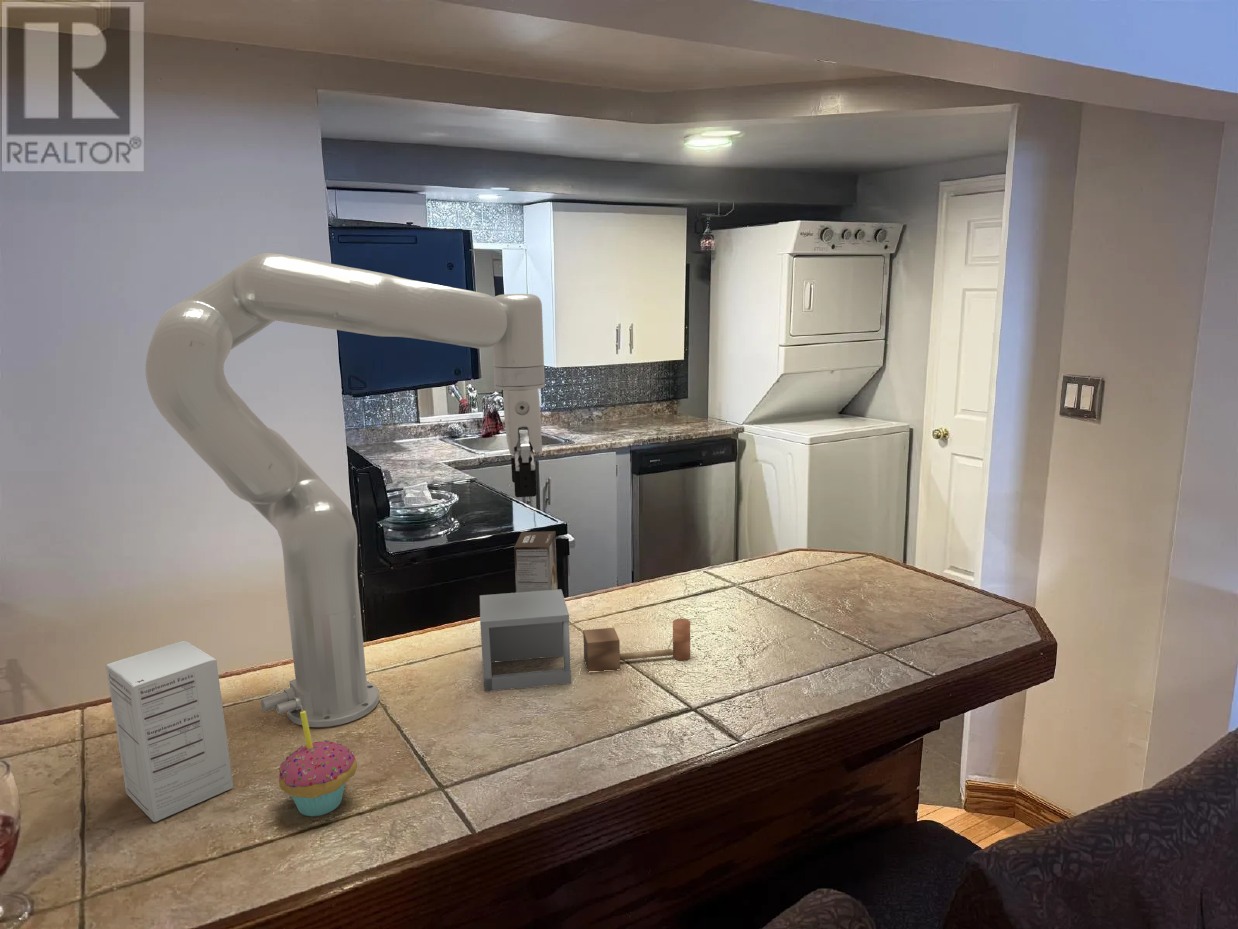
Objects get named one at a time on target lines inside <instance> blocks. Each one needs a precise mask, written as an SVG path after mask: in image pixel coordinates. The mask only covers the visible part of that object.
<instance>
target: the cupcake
mask: <svg viewBox="0 0 1238 929" xmlns="http://www.w3.org/2000/svg"><path fill="white" fill-rule="evenodd" d="M300 707H301V712H300V716H301V721H302V725H301V726H302V730H303V731H302V732H303V735H304V740H305V744H304V745H301V746H300V747H297V748H296V749H295V750H294V751H292V753H291V752H290V753H289V754H288V756H286V757H285V758H284V759H283V761H282V763H281V764H279V766H280V767H279V774H278V775H279V776H278V784H279V785H278V786H279V788H280V790H281V791H282V792H284V793H286V794H288V795H289V796H290V797H291V798H292V800H293V802H294V804H295V805H296V807H297V810H298V812H299V813H300V814H302V815H303V816H305V817H306V816H307V817H320V816H323V815H327V814H329V813H330V812H333V811H335V809H337V808H338V807H339V806H340V804H341V803H342V799H343V794H344V790H345V787H346V784H347V782H348V781H349V780H350V779H351V778H352V777H354V776H355V774H356V771H357V766H358V761H357V758H356V756H355V752H354V751H352V750H350V748H349V746H344V745H343V744H342V743H339V742H337V741H330V740H324V741H319V740H318V741H314V742H313V741H312V735H311V730H310V727H309V725H308V720H307V715H306V711H303V708H302V705H300Z"/></svg>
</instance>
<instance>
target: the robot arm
mask: <svg viewBox="0 0 1238 929" xmlns="http://www.w3.org/2000/svg"><path fill="white" fill-rule="evenodd" d="M275 321H276V322H277V321H278V322H284V323H289V324H297V325H303V326H308V327H309V326H311V327H317V328H322V329H329V330H336V331H342V332H349V333H355V334H362V335H369V336H373V337H374V336H375V337H392V338H393V337H396V338H397V337H398V338H406V339H407V338H408V339H409V338H410V339H415V340H417V339H418V340H424V341H431V342H437V343H442V344H450V345H455V346H460V347H466V348H467V347H468V348H469V347H470V348H473V349H474V348H475V349H486V348H490V347H492V362H493V363H492V364H493V381H494V382H493V383H494V389H495V390H499V391H502V400H503V417H504V427H505V435H506V436H505V437H506V442H507V446H508V451H509V454H510V455H511V456H512V457H510V462H511V463H510V465H511V481H512V483H514V496H515V498H531V497H536V496H537V495H538V494H537V491H538V489H537V469H536V468H535V458H534V453H537V454H538V456H539V455H542V453H543V442H542V438H543V437H542V423H541V421H542V420H541V419H542V418H541V403H540V394H539V389H543V388H545V387H546V386H545V385H546V384H545V382H546V380H545V361H544V360H545V357H544V329H543V328H544V326H543V325H544V324H543V303H542V301H541V298H540V297H539V296H537V295H536V294H532V293H508V294H507V293H506V294H498V295H496V296H492V295H489V294H488V293H483V292H478V291H475V290H474V291H473V290H468V289H463V288H458V287H452V286H447V285H440V284H437V283H436V284H435V283H432V282H431V283H430V282H424V281H420V280H413V279H409V278H405V277H400V276H396V275H393V274H388V273H385V272H384V273H383V272H379V271H378V272H377V271H372V270H367V269H362V268H356V267H351V266H350V267H349V266H345V265H341V264H335V263H331V262H330V263H329V262H326V261H325V262H323V261H319V260H314V259H309V258H303V257H299V256H293V255H287V254H282V253H276V252H263V253H259V254H256V255H254V256H252V257H250V258H248V259H246V260H244V261H243V262H241V263H240V264H239V265H237V266H236V267H235V268H233V269H231V270H230V271H229V272H227V273H226V274H224V275H223V276H221V277H219V278H218V279H216V280H215V281H213V282H211V283H210V284H208V285H207V286H205V287H203V288H202V289H200V290H198V291H197V292H195V293H194V294H191V295H190V296H188V297H186V298H185V299H182V300H181V301H180V302H178V303H176V304H175V305H173V306H171V307H170V308H169V309H167V310H166V311H165V312H164V313H163V314H162V316H161V317H160V319H159V320H158V322H157V325H156V327H155V329H154V331H153V334H152V337H151V340H150V343H149V346H148V349H147V354H146V359H145V376H146V377H145V378H146V385H147V388H148V391H149V394H150V397H151V399H152V401H153V404H154V405H155V407H156V408H157V410H158V412H159V413H160V415H161V416H162V417H163V419H165V421H166V422H167V423H168V424H169V425H170V427H172V428H173V430H174V431H176V433H177V434H178V435H179V436H180V437H181V438H182V439H183V440H184V441H185V442H186V443H187V445H189V446H190V448H191V449H192V450H193V452H195V453H196V454H197V455H198V456H199V457H200V458H201V459H202V460H203V461H204V462H205V463H206V464H207V466H209V467H210V469H212V471H213V472H214V473H215V474H216V475H217V476H218V477H219V478H220V479H221V480H222V481H223V483H224V484H225V486H226V487H227V489H229V490H230V492H232V493H233V494H234V495H235V496H237V497H238V498H239V499H241V500H243V501H245V502H248V503H249V504H250V505H251V506H252V507H253V508H254V509H255V510H257V512H259V514H260V515H261V516H263V518H265V520H267V521H268V523H270V525H272V527H273V528H274V529H275V530H276V531H277V534H278V536H279V538H280V541H281V542H280V543H281V548H282V549H281V550H282V555H283V556H282V558H283V568H284V569H283V571H284V584H285V585H284V586H285V594H286V604H287V612H288V620H289V631H290V640H291V650H292V651H291V652H292V659H293V660H292V661H293V668H294V669H293V670H294V676H295V677H294V679H291V680H289V681H288V682H289V687H288V688H286V689H283V692H280V693H277V694H272V695H269V696H266V697H263V698H261V699H260V706H261V707H260V708H261V709H262V712H263V713H267V712H269V711H273V710H275V711H276V714H278V715H282V714H284V713H286V714H287V718H288V719H289V720H290V721H291V722H292V723H294V724H296V725H299V726H302V721H301V716H300V712H301V707H300V705H302V708H303V711H306V715H307V720H308V725H309V728H327V727H335V726H341V725H344V724H348V723H351V722H353V721H356V720H358V719H360V718H362V717H364V716H366V715H368V714H369V713H370V712H371V711H373V710H374V709H375V708H376V707H377V705H378V703H379V701H380V692H379V689H378V687H377V686H376V685H374V683H371V682H369V681H367V671H366V659H365V648H364V636H363V626H362V624H363V623H362V614H361V612H362V611H361V600H360V593H359V590H360V589H359V579H358V532H357V527H356V526H357V524H356V522H355V519H354V516H353V514H352V512H351V511H350V508H349V507H348V506H347V505H346V503H345V502H344V501H343V500H342V499H341V498H340V497H339V496H338V495H337V493H336V492H335V491H334V490H333V489H332V488H331V487H330V486H329V485H328V484H327V483H326V482H325V481H324V480H323V479H322V478H321V477H320V475H318V473H316V471H315V470H314V469H313V468H312V467H311V466H310V465H309V464H308V463H307V462H306V461H305V460H304V459H303V458H302V456H301V455H300V454H298V452H297V451H296V450H295V449H294V448H293V447H292V446H291V445H290V444H289V443H288V441H287V440H286V439H285V438H284V437H283V436H282V435H281V434H280V433H279V432H277V431H275V430H274V429H272V428H269V427H268V426H267V425H266V424H265V423H264V422H263V421H262V420H261V419H260V418H259V417H258V416H257V415H256V413H254V411H253V410H251V408H250V407H249V406H248V404H247V403H245V401H244V400H243V399H242V398H241V397H240V396H239V395H238V394H237V393H236V391H235V390H234V389H233V387H231V386H230V384H229V383H228V381H227V378H226V376H225V370H224V369H225V368H224V365H225V362H226V360H227V358H228V356H229V355H230V353H231V351H232V350H233V349H234V348H236V347H238V346H239V345H241V344H243V343H244V342H245V341H247V340H249V339H250V338H252V337H253V336H255V335H256V334H258V333H259V332H260V331H262V330H264V329H265V328H267V327H268V326H269V325H270V324H272V323H274V322H275Z"/></svg>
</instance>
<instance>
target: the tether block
mask: <svg viewBox="0 0 1238 929" xmlns="http://www.w3.org/2000/svg"><path fill="white" fill-rule="evenodd" d="M582 635H583V637H582V638H583V660H584V659H585V660H584V663H585V662H586V664H585V667H586V666H587V667H586V669H588V670H587V672H589V671H604V670H615V671H618V670H617V669H620V670H621V661H625V660H626V661H627V660H637V659H638V660H639V659H650V658H659V657H666V656H667V657H669V656H670V657H671V656H672V658H673V659H674V660H676V661H679V662H685V661H688V660H690V659H691V621H690V620H689V619H687V618H676V619H674V620H673V621H672V648H670V649H669V648H667V649H658V650H656V649H655V650H647V651H646V650H644V651H635V652H626V653H625V652H623V653H621V652H620V648H621V647H620V645H621V644H620V638H619V635H618V634H617V630H616V629H615V627H606V628H605V627H604V628H595V629H594V628H593V629H584V630H582Z"/></svg>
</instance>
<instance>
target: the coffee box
mask: <svg viewBox="0 0 1238 929" xmlns="http://www.w3.org/2000/svg"><path fill="white" fill-rule="evenodd" d="M556 542H557V539H556V531H555V530H553V531H550V530H549V531H523V532H520V534H519V537H518V538H517V540H516V543H515V544H514V547H513V550H514V551H513V553H514V555H513V556H514V570H515V572H514V573H515V574H514V575H515V593H519V592H532V591H545V590H558V572H557V570H558V569H557V568H558V567H557V547H556V546H557V543H556Z"/></svg>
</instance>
